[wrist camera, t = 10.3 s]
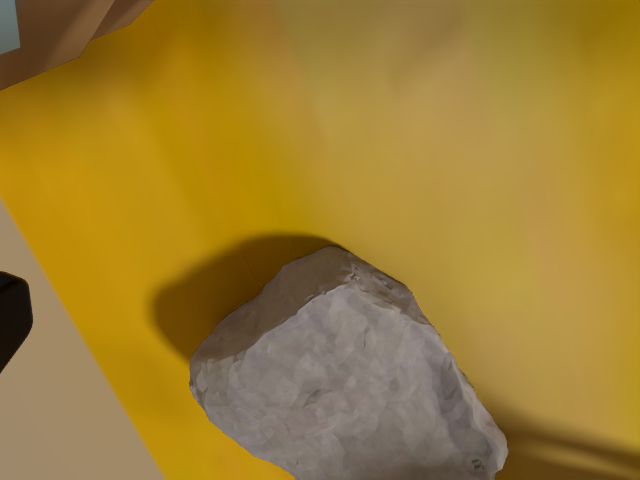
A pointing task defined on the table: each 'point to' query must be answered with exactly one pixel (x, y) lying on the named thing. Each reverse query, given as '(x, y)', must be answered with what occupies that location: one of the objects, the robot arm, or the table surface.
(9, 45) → the slate block
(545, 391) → the table surface
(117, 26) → the tower base
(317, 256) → the stone block
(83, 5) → the tower mid
